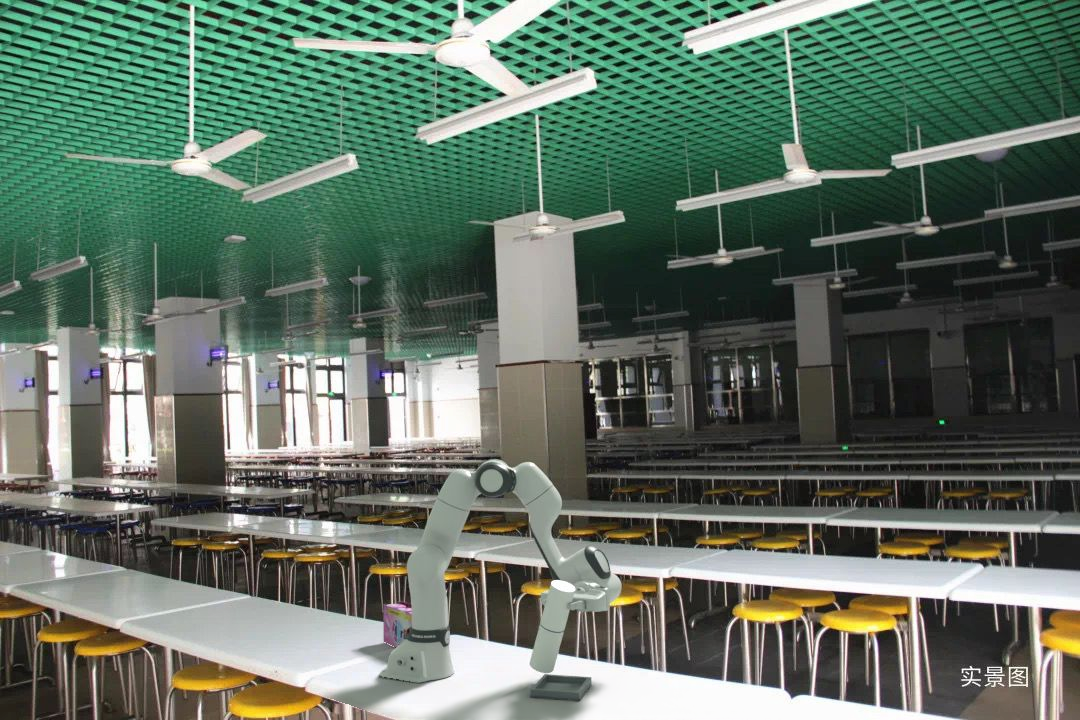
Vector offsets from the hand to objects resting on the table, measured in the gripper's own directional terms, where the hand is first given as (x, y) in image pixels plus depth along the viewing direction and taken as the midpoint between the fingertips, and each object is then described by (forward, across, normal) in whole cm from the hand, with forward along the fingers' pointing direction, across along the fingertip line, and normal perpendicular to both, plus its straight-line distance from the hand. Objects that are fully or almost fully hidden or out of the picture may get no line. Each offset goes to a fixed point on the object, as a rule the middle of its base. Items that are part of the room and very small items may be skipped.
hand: (557, 605), depth 231 cm
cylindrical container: (-1, -7, +18) cm, 20 cm away
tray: (-1, 0, +24) cm, 24 cm away
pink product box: (-10, -71, +24) cm, 76 cm away
